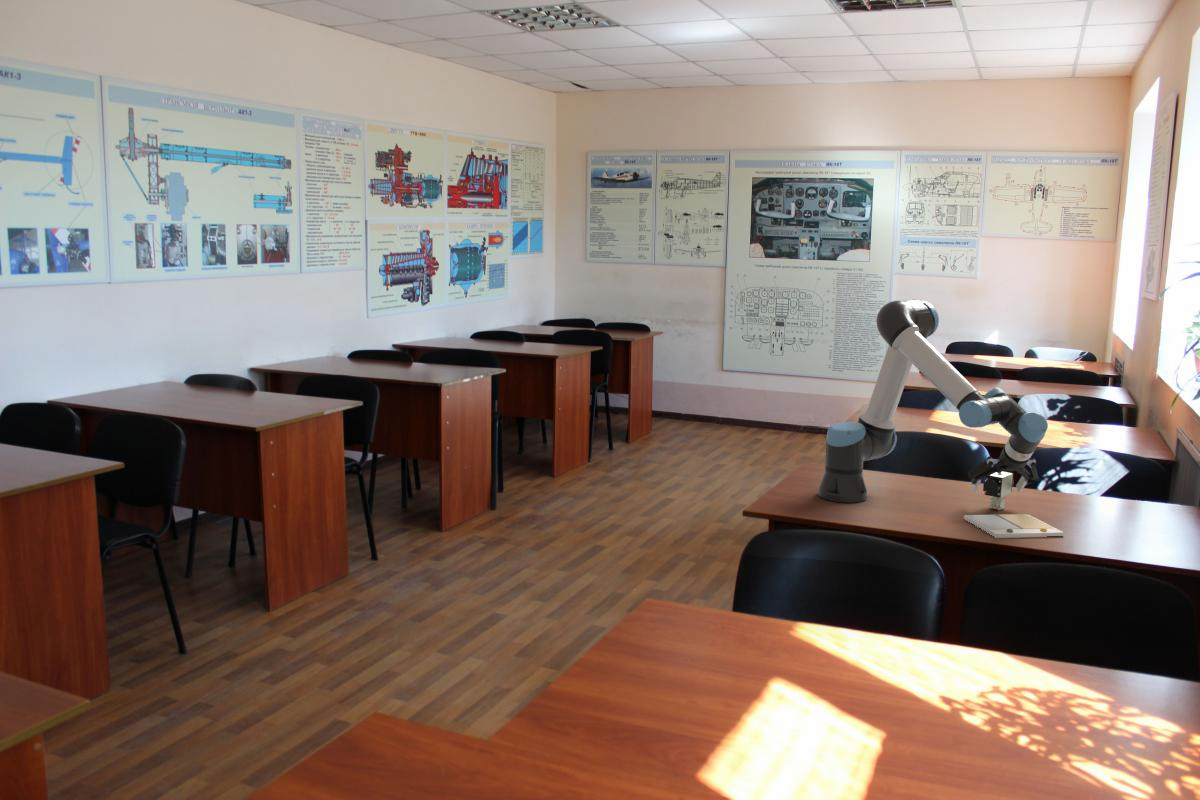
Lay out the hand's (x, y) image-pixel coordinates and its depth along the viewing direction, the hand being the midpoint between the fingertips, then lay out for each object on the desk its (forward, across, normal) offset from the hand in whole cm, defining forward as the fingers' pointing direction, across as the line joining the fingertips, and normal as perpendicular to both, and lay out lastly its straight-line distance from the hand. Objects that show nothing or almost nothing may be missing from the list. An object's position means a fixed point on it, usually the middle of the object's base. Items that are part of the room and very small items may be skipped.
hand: (995, 488), depth 294 cm
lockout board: (-12, -2, -20) cm, 23 cm away
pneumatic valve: (+3, 0, -6) cm, 6 cm away
